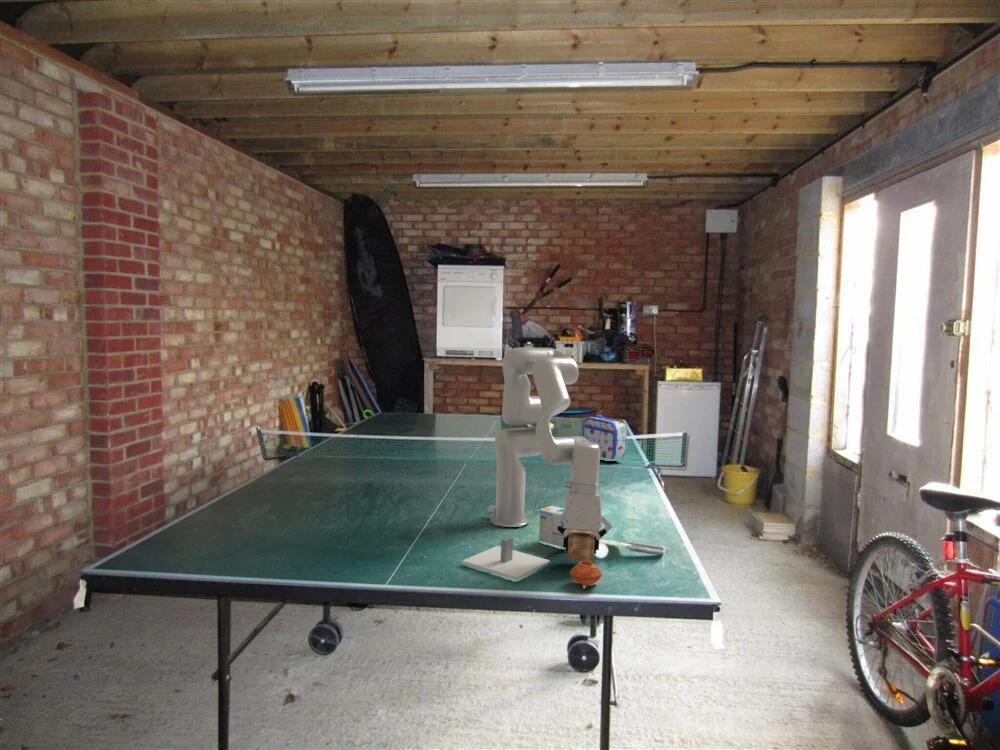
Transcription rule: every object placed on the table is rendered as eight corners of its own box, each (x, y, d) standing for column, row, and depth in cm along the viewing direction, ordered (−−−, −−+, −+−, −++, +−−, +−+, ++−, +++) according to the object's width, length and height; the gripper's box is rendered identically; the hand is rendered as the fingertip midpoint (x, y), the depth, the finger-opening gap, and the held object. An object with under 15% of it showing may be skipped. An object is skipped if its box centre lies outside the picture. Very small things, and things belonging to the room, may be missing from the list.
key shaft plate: (462, 565, 176) (462, 538, 175) (497, 550, 189) (498, 525, 188) (516, 583, 165) (517, 554, 165) (549, 565, 178) (550, 539, 177)
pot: (603, 592, 160) (598, 566, 160) (572, 596, 162) (567, 570, 161) (604, 579, 168) (599, 554, 168) (574, 583, 170) (569, 558, 169)
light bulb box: (579, 547, 194) (581, 511, 193) (566, 552, 189) (567, 516, 188) (551, 538, 201) (552, 504, 200) (537, 543, 196) (538, 508, 195)
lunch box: (577, 455, 335) (578, 412, 333) (592, 453, 340) (594, 411, 339) (611, 465, 311) (613, 420, 310) (628, 463, 317) (630, 419, 315)
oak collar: (567, 559, 175) (568, 537, 174) (567, 550, 182) (568, 529, 181) (593, 561, 174) (594, 539, 174) (592, 552, 181) (594, 531, 181)
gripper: (551, 489, 174) (548, 553, 175) (617, 493, 172) (613, 558, 173) (552, 482, 181) (549, 543, 183) (615, 486, 179) (611, 548, 181)
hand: (580, 550), depth 178 cm, fingers closed on oak collar, 7 cm apart
